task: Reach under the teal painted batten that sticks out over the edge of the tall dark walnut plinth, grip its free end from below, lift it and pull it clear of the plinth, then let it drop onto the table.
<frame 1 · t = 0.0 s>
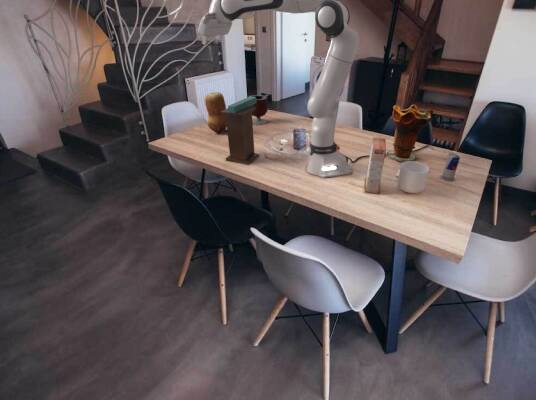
hand: (210, 43, 142), 54 cm above the table, tool tilted 30°, fingers open, 8 cm apart
mate gourd: (259, 122, 221), on the table
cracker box: (372, 186, 142), on the table
butternut squash: (219, 132, 200), on the table
plinth: (242, 158, 165), on the table
batten: (243, 107, 155), point 26 cm above the table, touching plinth
handleless ceramic cup: (409, 189, 140), on the table
decorative vase: (402, 156, 173), on the table
energy drink: (447, 178, 151), on the table
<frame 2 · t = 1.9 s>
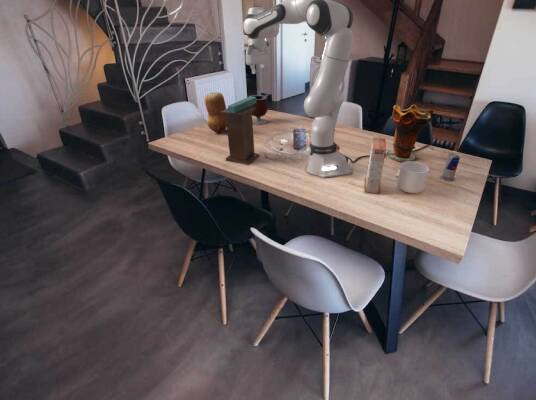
hand: (258, 72, 165), 40 cm above the table, tool pointing down, fingers open, 8 cm apart
nothing on the table moved.
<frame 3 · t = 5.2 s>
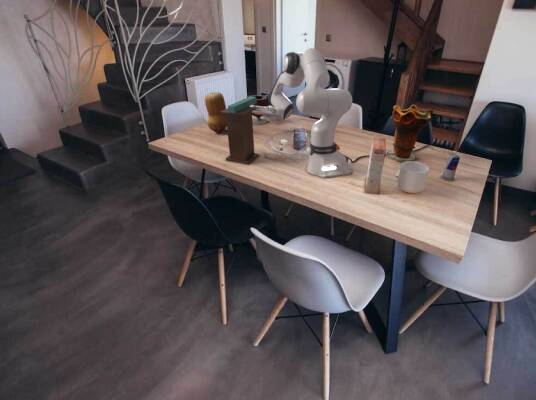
hand: (261, 107, 174), 21 cm above the table, tool pointing upward, fingers open, 8 cm apart
nothing on the table moved.
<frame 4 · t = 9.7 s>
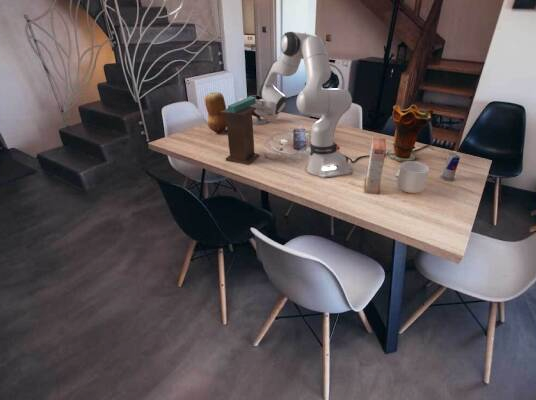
hand: (250, 99, 161), 28 cm above the table, tool pointing upward, fingers closed on batten, 3 cm apart
batten: (243, 107, 155), point 26 cm above the table, touching gripper, plinth
everything else where it was.
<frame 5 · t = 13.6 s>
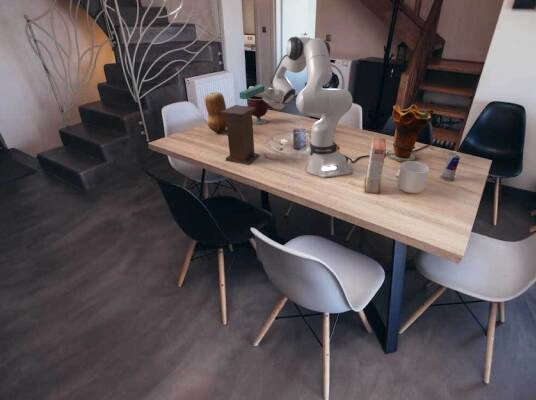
hand: (260, 87, 168), 32 cm above the table, tool pointing upward, fingers closed on batten, 3 cm apart
batten: (253, 94, 162), point 30 cm above the table, touching gripper
everything else where it was.
when the fingers open (20 cm above the table, at t = 17.8 s): batten drops 18 cm, on the table.
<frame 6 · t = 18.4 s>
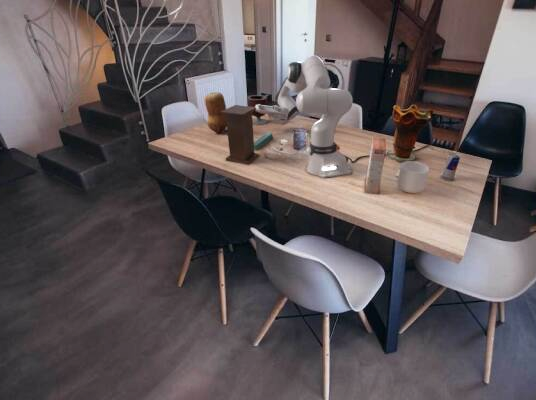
hand: (266, 106, 179), 21 cm above the table, tool pointing upward, fingers open, 8 cm apart
batten: (262, 143, 184), on the table
everything else where it was.
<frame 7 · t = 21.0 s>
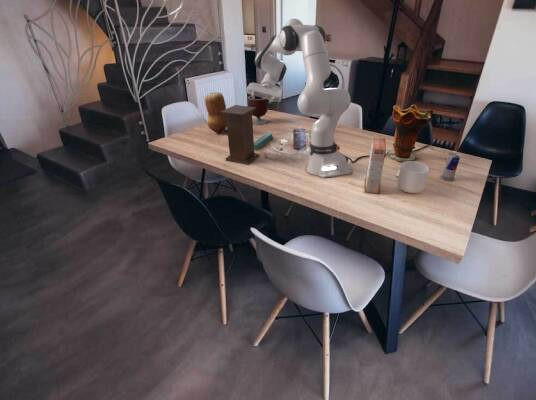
hand: (261, 100, 171), 26 cm above the table, tool tilted 70°, fingers open, 8 cm apart
nothing on the table moved.
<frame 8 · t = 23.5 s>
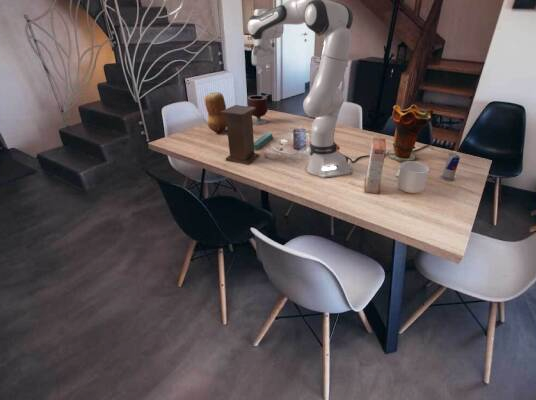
hand: (263, 72, 168), 39 cm above the table, tool pointing down, fingers open, 8 cm apart
nothing on the table moved.
at the end: batten on the table; batten touching table; the gripper is holding nothing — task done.
